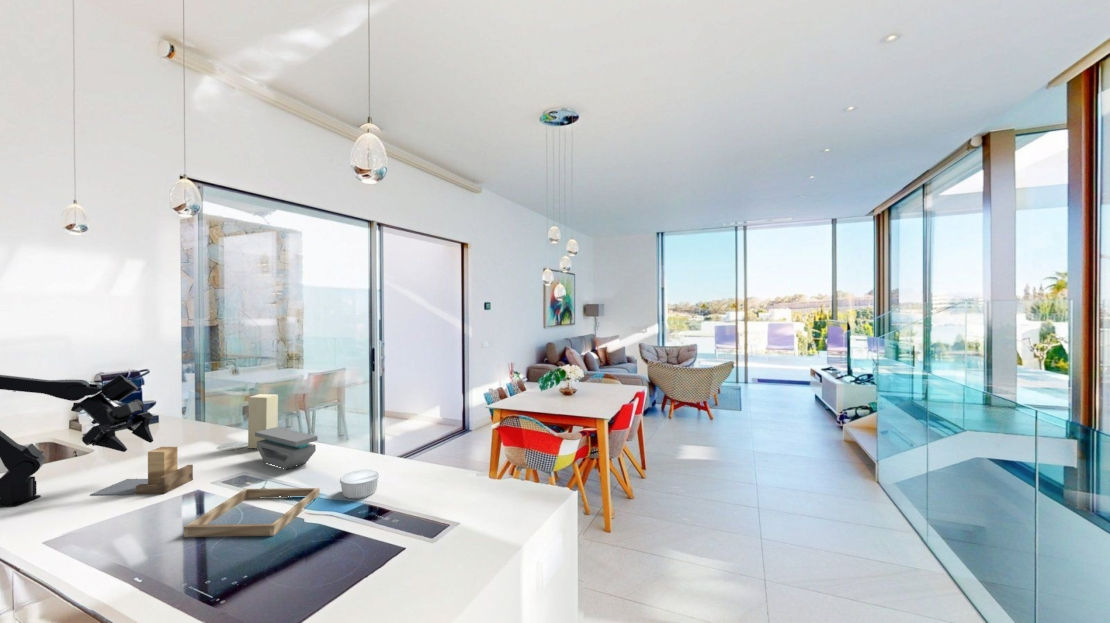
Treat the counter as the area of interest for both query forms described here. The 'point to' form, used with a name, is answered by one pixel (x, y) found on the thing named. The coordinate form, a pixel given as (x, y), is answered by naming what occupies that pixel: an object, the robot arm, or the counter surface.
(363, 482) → the ramekin
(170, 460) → the teak block
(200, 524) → the oak frame
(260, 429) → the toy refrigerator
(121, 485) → the charcoal rubber mat
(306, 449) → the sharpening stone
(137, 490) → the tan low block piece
